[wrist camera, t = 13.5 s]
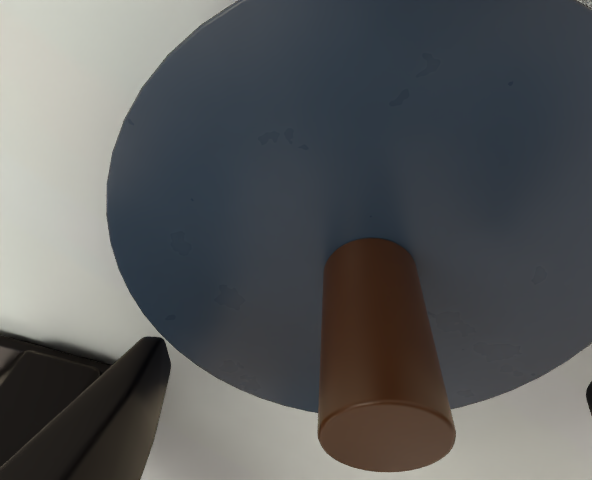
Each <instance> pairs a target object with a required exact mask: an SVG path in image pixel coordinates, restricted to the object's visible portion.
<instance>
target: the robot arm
mask: <svg viewBox="0 0 592 480" xmlns="http://www.w3.org/2000/svg"><path fill="white" fill-rule="evenodd" d="M170 369H171V362H170V358H169V354H168V351H167V347H166V344H165V341H164V339H162V338H160V337H144V338H142V339H140V340H139V341H138V342H137V343H136V344H135V345H134V346H133V347H132V348H131V349H129V350H128V351H127V352H126V353H125V354H124V355H123V356H122V357H121V358H120V359H119V360H117V361H116V362H115V363H114V364H113V365H112V366H111V365H107V364H104V363H100V362H96V361H93V360H89V359H85V358H82V357H78V356H74V355H71V354H67V353H63V352H60V351H56V350H52V349H49V348H45V347H41V346H38V345H34V344H30V343H27V342H23V341H19V340H16V339H12V338H8V337H5V336H1V335H0V480H140V479H141V476H142V473H143V470H144V468H145V465H146V462H147V459H148V456H149V454H150V450H151V447H152V444H153V441H154V437H155V433H156V430H157V425H158V421H159V417H160V413H161V409H162V404H163V400H164V396H165V392H166V387H167V383H168V379H169V375H170ZM586 398H587V402H588V406H589V409H590V412H591V416H592V382H591V383H590V384H589V386H588V388H587V391H586Z"/></svg>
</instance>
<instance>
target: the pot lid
mask: <svg viewBox="0 0 592 480" xmlns="http://www.w3.org/2000/svg"><path fill="white" fill-rule="evenodd" d="M106 215H107V222H108V229H109V235H110V242H111V246H112V249H113V252H114V255H115V259H116V262H117V265H118V268H119V271H120V273H121V275H122V277H123V279H124V281H125V283H126V286H127V288H128V290H129V292H130V294H131V295H132V297H133V298H134V300H135V301H136V303H137V304H138V306H139V308H140V309H141V311H142V312H143V314H144V315H145V316H146V317H147V319H148V320H149V321H150V322H151V323H152V325H153V326H154V327H155V328H156V329H157V331H158V332H159V333H160V334H161V335H162V336H163V337H164V338H165V339H166V340H167V341H168V342H169V343H170V344H171V345H173V346H174V347H175V348H176V349H177V350H178V351H179V352H180V353H182V354H183V355H184V356H186V357H187V358H188V359H189V360H191V361H192V362H193V363H195V364H196V365H197V366H199V367H200V368H202V369H204V370H205V371H207V372H208V373H210V374H212V375H213V376H215V377H216V378H218V379H220V380H222V381H224V382H226V383H228V384H230V385H232V386H234V387H236V388H238V389H240V390H242V391H245V392H247V393H249V394H252V395H254V396H257V397H259V398H262V399H265V400H268V401H271V402H274V403H278V404H281V405H284V406H288V407H292V408H296V409H301V410H305V411H310V412H316V413H318V439H319V442H320V444H321V446H322V448H323V449H324V451H325V452H326V453H327V454H328V455H330V456H331V457H332V458H334V459H335V460H337V461H339V462H341V463H343V464H345V465H348V466H351V467H354V468H358V469H362V470H367V471H375V472H401V471H409V470H414V469H418V468H422V467H425V466H428V465H430V464H433V463H435V462H437V461H439V460H440V459H442V458H443V457H445V456H446V455H447V454H448V453H449V452H450V450H451V449H452V447H453V445H454V442H455V437H456V431H455V427H454V422H453V418H452V414H451V410H450V409H454V408H459V407H463V406H467V405H470V404H474V403H477V402H480V401H484V400H487V399H490V398H493V397H495V396H498V395H501V394H503V393H506V392H509V391H511V390H514V389H516V388H518V387H520V386H522V385H524V384H527V383H529V382H531V381H533V380H535V379H537V378H539V377H541V376H543V375H544V374H546V373H548V372H550V371H551V370H553V369H555V368H556V367H558V366H560V365H562V364H563V363H565V362H566V361H568V360H569V359H570V358H572V357H573V356H575V355H576V354H577V353H579V352H580V351H582V350H583V349H584V348H586V347H587V346H588V345H590V344H591V343H592V9H590V8H588V7H587V6H585V5H583V4H582V3H580V2H578V1H577V0H238V1H236V2H235V3H233V4H232V5H230V6H229V7H227V8H226V9H224V10H223V11H221V12H220V13H218V14H216V15H215V16H213V17H212V18H210V19H209V20H207V21H206V22H204V23H203V24H201V25H200V26H199V27H198V28H197V29H196V30H195V31H194V32H192V33H191V34H190V35H189V36H188V37H187V38H186V39H185V40H184V41H183V42H182V43H180V44H179V45H178V46H177V47H176V48H175V49H174V50H173V51H172V52H171V53H169V54H168V55H167V57H166V58H165V59H164V60H163V62H162V63H161V64H160V65H159V67H158V68H157V69H156V70H155V72H154V73H153V74H152V75H151V77H150V78H149V79H148V80H147V82H146V83H145V84H144V86H143V87H142V88H141V90H140V92H139V94H138V96H137V97H136V99H135V101H134V103H133V105H132V106H131V108H130V110H129V112H128V114H127V115H126V117H125V119H124V121H123V124H122V127H121V130H120V133H119V135H118V138H117V141H116V144H115V147H114V149H113V152H112V158H111V163H110V169H109V175H108V180H107V213H106Z"/></svg>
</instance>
